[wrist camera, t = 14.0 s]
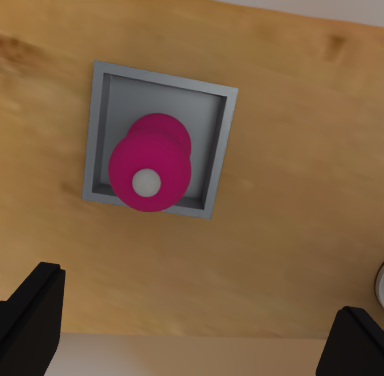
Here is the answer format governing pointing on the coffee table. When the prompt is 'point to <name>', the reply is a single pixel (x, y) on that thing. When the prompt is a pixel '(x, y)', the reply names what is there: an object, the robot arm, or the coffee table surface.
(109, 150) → the bin
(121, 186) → the pepper mill
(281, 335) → the coffee table surface
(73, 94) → the coffee table surface
